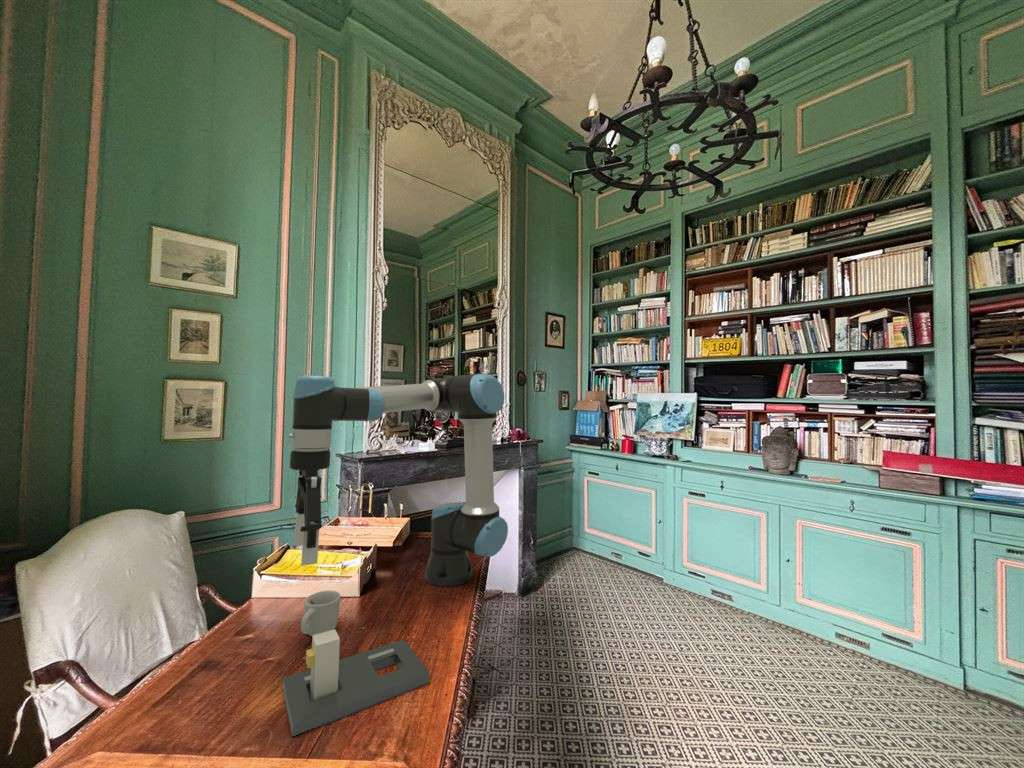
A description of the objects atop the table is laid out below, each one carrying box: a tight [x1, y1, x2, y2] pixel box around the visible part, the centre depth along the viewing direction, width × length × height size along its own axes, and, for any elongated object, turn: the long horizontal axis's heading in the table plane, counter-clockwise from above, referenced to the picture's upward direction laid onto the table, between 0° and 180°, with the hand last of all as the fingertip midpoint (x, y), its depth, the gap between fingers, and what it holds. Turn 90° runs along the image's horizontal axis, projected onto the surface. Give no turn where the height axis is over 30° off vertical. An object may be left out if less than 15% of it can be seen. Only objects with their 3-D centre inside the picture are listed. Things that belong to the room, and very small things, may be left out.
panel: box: [282, 638, 430, 738], centre depth 80 cm, size 24×14×2 cm, turn 125°
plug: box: [305, 628, 341, 701], centre depth 76 cm, size 5×4×11 cm
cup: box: [300, 590, 342, 637], centre depth 97 cm, size 11×8×8 cm
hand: (305, 553), depth 84 cm, fingers open, 13 cm apart
